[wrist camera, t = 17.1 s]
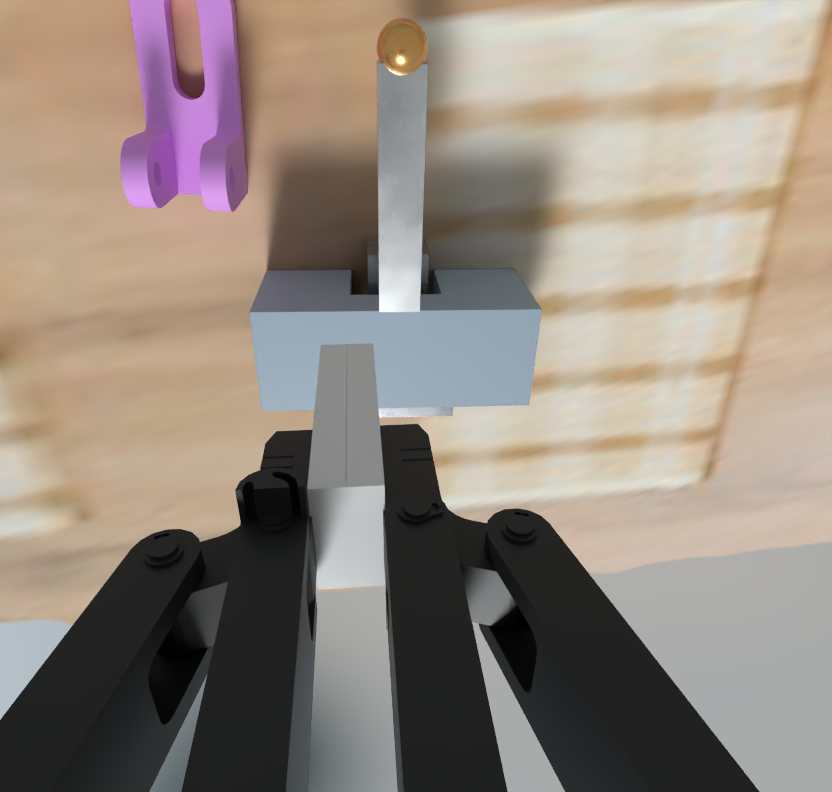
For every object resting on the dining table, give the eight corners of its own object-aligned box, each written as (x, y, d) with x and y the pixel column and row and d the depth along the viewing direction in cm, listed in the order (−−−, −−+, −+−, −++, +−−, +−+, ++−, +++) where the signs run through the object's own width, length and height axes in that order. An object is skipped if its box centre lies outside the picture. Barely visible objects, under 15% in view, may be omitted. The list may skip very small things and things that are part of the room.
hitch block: (275, 358, 47) (261, 411, 40) (266, 270, 44) (249, 312, 37) (505, 354, 49) (529, 405, 42) (514, 269, 45) (541, 309, 38)
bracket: (247, 192, 41) (228, 218, 35) (161, 188, 41) (127, 213, 35) (232, -44, 35) (205, -62, 29) (129, -54, 34) (80, -74, 28)
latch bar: (378, 299, 38) (379, 317, 36) (376, 15, 29) (377, 19, 27) (417, 299, 38) (420, 317, 36) (426, 17, 29) (431, 21, 27)
